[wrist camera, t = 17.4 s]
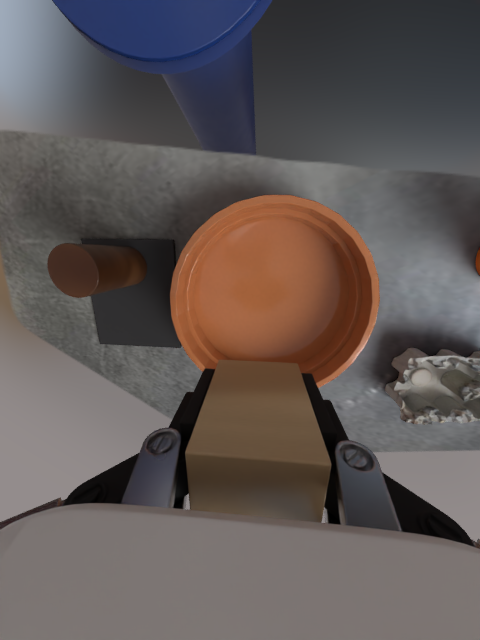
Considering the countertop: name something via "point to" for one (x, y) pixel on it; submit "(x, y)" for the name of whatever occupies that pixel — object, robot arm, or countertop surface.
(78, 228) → the countertop surface
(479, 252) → the paper cup
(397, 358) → the egg carton
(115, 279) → the walnut cylinder
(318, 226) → the pan
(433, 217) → the countertop surface
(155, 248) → the mat
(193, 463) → the birch block
